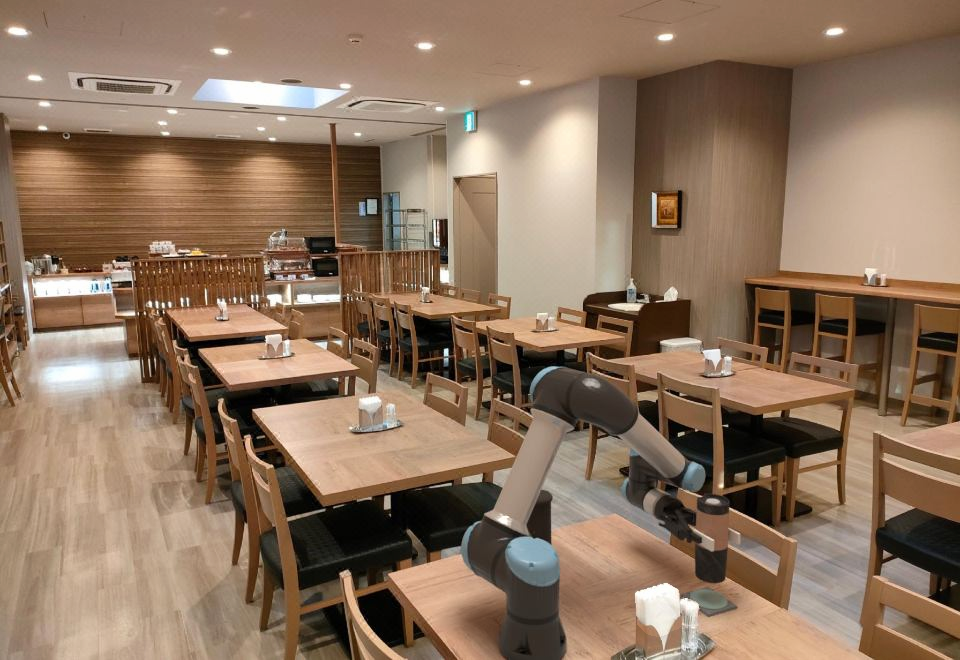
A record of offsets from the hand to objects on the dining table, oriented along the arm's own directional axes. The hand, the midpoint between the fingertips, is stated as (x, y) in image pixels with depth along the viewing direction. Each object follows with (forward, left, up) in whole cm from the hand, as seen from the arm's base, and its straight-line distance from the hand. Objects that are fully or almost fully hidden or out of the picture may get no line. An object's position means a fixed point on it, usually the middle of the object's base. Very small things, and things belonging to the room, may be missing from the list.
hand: (726, 542), depth 162 cm
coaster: (0, +5, -18) cm, 19 cm away
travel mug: (0, +5, -11) cm, 12 cm away
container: (-29, +42, -18) cm, 54 cm away
